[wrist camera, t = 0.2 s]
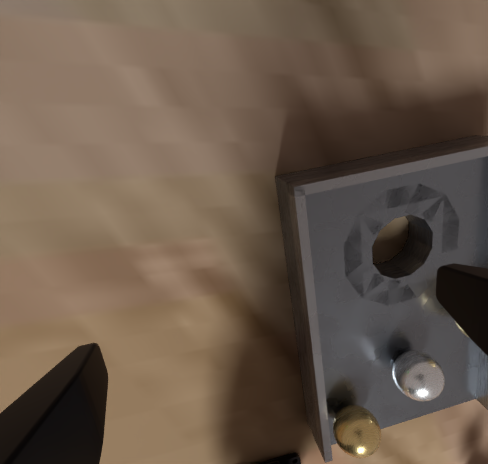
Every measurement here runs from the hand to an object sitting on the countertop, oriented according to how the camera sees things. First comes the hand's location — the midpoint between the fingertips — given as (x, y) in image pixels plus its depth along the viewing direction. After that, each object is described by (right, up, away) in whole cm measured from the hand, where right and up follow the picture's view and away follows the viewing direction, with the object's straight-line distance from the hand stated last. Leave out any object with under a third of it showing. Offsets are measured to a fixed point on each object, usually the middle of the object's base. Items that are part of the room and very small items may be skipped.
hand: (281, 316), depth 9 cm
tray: (+10, -3, +18) cm, 21 cm away
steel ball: (+12, -8, +16) cm, 22 cm away
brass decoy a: (+7, -13, +17) cm, 22 cm away
